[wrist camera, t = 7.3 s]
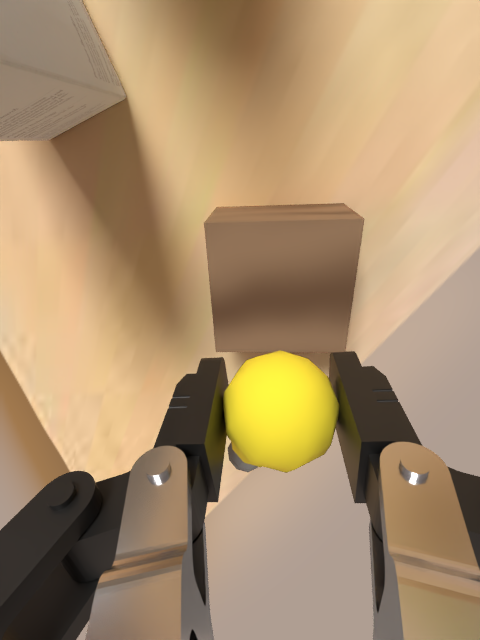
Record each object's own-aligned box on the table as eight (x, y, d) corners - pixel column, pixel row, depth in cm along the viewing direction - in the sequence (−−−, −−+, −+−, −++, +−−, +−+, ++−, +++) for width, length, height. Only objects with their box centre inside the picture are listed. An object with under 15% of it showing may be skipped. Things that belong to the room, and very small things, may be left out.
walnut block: (217, 206, 21) (204, 222, 16) (342, 202, 20) (364, 218, 16) (224, 314, 24) (216, 351, 20) (330, 314, 24) (344, 352, 19)
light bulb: (334, 330, 10) (384, 440, 8) (270, 414, 14) (291, 502, 12) (233, 323, 9) (256, 447, 7) (197, 416, 13) (203, 512, 11)
